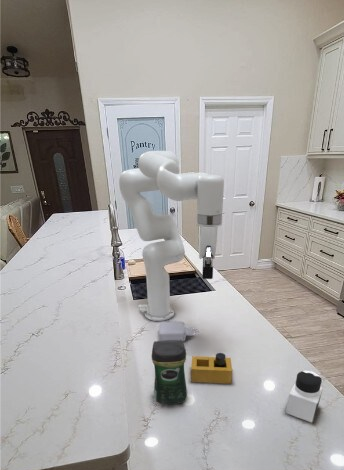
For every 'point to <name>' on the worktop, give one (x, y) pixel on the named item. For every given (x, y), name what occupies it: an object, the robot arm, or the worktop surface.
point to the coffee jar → (169, 371)
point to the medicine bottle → (305, 396)
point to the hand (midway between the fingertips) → (207, 273)
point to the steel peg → (220, 360)
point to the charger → (174, 331)
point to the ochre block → (210, 370)
